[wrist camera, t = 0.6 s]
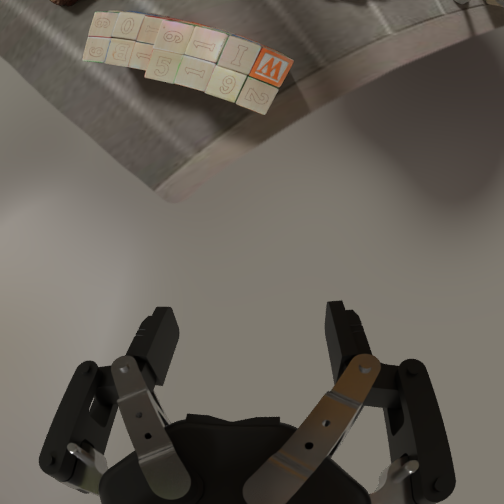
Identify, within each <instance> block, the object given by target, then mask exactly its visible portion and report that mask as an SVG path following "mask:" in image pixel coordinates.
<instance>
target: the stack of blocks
mask: <svg viewBox="0 0 504 504" xmlns="http://www.w3.org/2000/svg"><path fill="white" fill-rule="evenodd" d="M88 36H89V37H88V39H87V43H86V47H85V51H84V55H83V61H90V62H99V63H105V64H111V65H118V66H124V67H130V68H135V69H140V70H146V72H145V75H144V77H145V78H149V79H154V80H159V81H163V82H167V83H171V84H174V83H175V84H178V85H181V86H185V87H189V88H193V89H196V90H199V91H204V93H206V94H209V95H212V96H215V97H218V98H221V99H224V100H227V101H230V102H233V103H236V104H237V105H240V106H242V107H245V108H247V109H250V110H252V111H255V112H257V113H260V114H262V115H265V114H266V113H267V111H268V109H269V107H270V105H271V103H272V101H273V100H274V98H275V96H276V94H277V92H278V90H279V89H278V88H279V87H280V86H281V85H282V83H283V81H284V79H285V77H286V76H287V74H288V72H289V70H290V68H291V66H292V65H293V63H294V60H292V59H290V58H289V57H287V56H286V55H283V54H282V53H281V52H278V51H276V50H274V49H271V48H269V47H267V46H264V45H262V44H259V43H258V42H256V41H253V40H250V39H248V38H245V37H242V36H239V35H236V34H234V33H231V32H228V31H225V30H222V29H218V28H215V27H209V26H205V25H201V24H197V23H193V22H188V21H183V20H179V19H174V18H169V16H163V15H158V14H152V13H142V12H134V11H103V12H95V15H94V18H93V21H92V24H91V27H90V30H89V34H88Z"/></svg>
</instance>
